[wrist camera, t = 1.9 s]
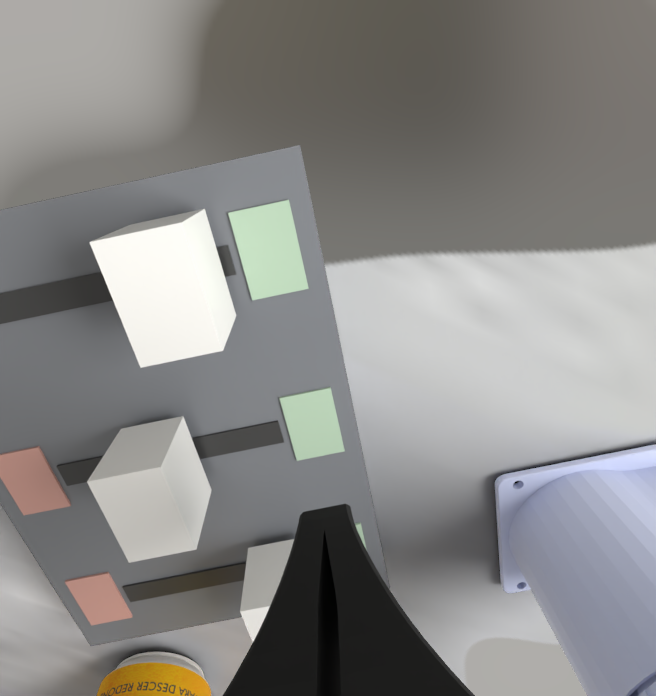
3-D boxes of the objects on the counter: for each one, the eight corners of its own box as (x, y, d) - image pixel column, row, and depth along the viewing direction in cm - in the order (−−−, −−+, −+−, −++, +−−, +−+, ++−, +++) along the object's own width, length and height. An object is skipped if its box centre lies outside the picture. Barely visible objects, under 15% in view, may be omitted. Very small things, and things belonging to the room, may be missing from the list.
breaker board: (299, 145, 16) (299, 144, 14) (383, 555, 24) (390, 590, 22) (-112, 234, 16) (-167, 245, 14) (106, 608, 24) (89, 648, 22)
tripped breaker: (183, 415, 17) (161, 466, 14) (211, 490, 18) (196, 549, 16) (121, 428, 17) (86, 482, 14) (154, 501, 18) (129, 562, 16)
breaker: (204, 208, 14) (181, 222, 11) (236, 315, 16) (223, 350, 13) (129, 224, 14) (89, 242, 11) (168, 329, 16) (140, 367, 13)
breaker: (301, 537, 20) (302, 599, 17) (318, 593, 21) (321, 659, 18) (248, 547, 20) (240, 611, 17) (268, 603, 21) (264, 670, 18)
